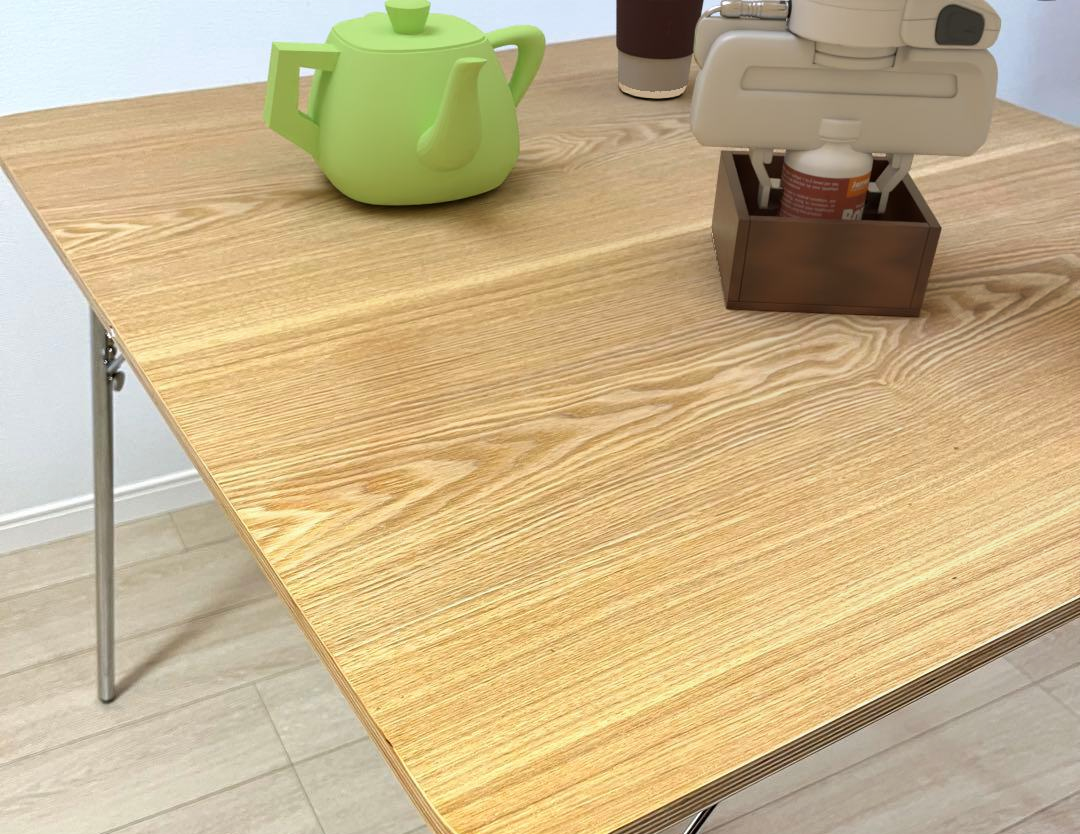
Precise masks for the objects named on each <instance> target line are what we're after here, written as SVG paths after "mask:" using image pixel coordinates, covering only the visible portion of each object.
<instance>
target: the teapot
mask: <svg viewBox="0 0 1080 834" xmlns="http://www.w3.org/2000/svg"><path fill="white" fill-rule="evenodd" d="M384 7H385V11H386V12H383V11H373V12H370V13H367V14H365V15H364V16H362V17H357V18H350V19H346V20H343V21H340V22H337V23H336V24H334V25H333V26H332V27H331V28H330V30H329V33H328V35H327V38H326V39H325V42H324V43H314V42H285V41H272V43H271V49H270V57H269V65H268V73H267V80H266V89H265V96H264V104H263V112H262V120H263V121H264V123H265V124H266V126H267V127H268V128H269V129H270V130H272V131H273V132H275V133H276V134H278V135H279V136H281V137H283V138H284V139H285V140H286V141H289V142H290V143H292V144H293V145H295V146H297V147H298V148H300V149H301V150H303V151H305V152H306V153H307V154H309V155H311V156H312V158H313V160H314V161H315V163H316V165H317V166H318V167H319V169H320V170H321V171H322V173H323V174H324V176H325V177H326V178H327V180H328V181H330V183H331V184H332V185H333V186H334V187H335V188H336V189H337V190H338V191H339V192H341V194H343V195H345V196H346V197H348V198H350V199H352V200H354V201H357V202H360V203H364V204H370V205H378V206H380V205H381V206H413V205H426V204H438V203H446V202H450V201H457V200H461V199H466V198H471V197H473V196H477V195H480V194H483V193H487V192H489V191H491V190H495V189H496V188H498V187H500V186H501V185H502V184H503V183H504V182H505V180H506V179H507V178H508V176H509V175H510V173H511V172H512V170H513V169H514V167H515V165H516V163H517V162H518V159H519V157H520V152H521V140H520V139H521V137H520V129H519V128H520V127H519V121H518V116H517V110H516V109H517V108H518V105H519V104H520V103H521V101H522V100H523V98H524V96H525V94H526V93H527V91H528V90H529V88H530V86H531V85H532V83H533V82H534V79H535V78H536V76H537V74H538V73H539V70H540V68H541V65H542V62H543V59H544V56H545V51H546V44H547V43H546V41H547V40H546V36H545V33H544V32H543V31H542V29H541V28H539V27H537V26H535V25H533V24H532V25H531V24H518V25H517V24H516V25H511V26H506V27H503V28H499V29H495V30H492V31H490V32H486V33H485V32H484V31H482V29H481V28H479V27H477V26H476V25H475V24H473V23H472V22H470V21H468V20H466V19H464V18H462V17H459V16H456V15H452V14H448V13H436V12H430V11H431V1H429V0H385V1H384ZM506 46H516V47H517V58H516V62H515V65H514V68H513V70H512V74H511V77H510V79H509V82H508V80H507V77H506V75H505V72H504V70H503V68H502V66H501V63H500V61H499V58H498V55H497V54H496V52H495V49H498V48H502V47H506ZM301 68H302V69H303V68H304V69H312V70H314V73H313V77H312V80H311V83H310V89H309V94H308V98H307V99H308V100H307V107H306V113H305V112H303V111H302V110H300V109H299V96H300V95H299V93H300V71H301Z"/></svg>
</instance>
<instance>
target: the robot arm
mask: <svg viewBox="0 0 1080 834" xmlns="http://www.w3.org/2000/svg"><path fill="white" fill-rule="evenodd" d="M1038 1H1040V2H1041V1H1042V2H1052V1H1053V2H1055V0H1038ZM716 13H719V15H714V14H716ZM1001 28H1002V18H1001V16H1000V15H999V14H998V12H997V11H996V10H995V8H994V7H993V6H992V5H991V4H990V3H988V1H986V0H721V1H720V4H718V5H714V6H711V7H710V8H708V9H707V10H705V11H704V12H703V13H702V14H701V17H700V18H699V20H698V22H697V25H696V28H695V37H694V47H693V54H692V55H693V59H694V61H695V63H696V65H697V66H698V70H697V74H696V77H695V78H696V79H695V83H694V87H693V92H692V97H691V103H690V110H689V129H690V132H691V134H692V135H693V137H694V139H695V140H696V141H697V142H698V144H699V145H700V146H702V147H708V148H710V147H711V148H732V149H733V148H735V149H736V148H737V149H748V151H749V156H750V160H751V163H752V165H753V167H754V170H755V172H756V175H757V177H758V179H759V182H760V184H759V191H758V206H759V209H780V207H781V201H780V199H781V197H782V195H783V186H782V184H781V179H774V178H769V176H768V173H767V171H766V168H765V166H764V164H763V162H764V163H765V164H770V163H771V162H772V156H773V152H774V150H785V151H786V150H816V149H820V148H822V147H823V146H824V145H825V144H826V141H823V140H820V138H822V137H821V136H819V135H818V133H819V130H820V125H821V121H822V119H843V120H860V121H861V122H862V124H861V130H860V137H858V138H856V140H857V141H855V142H850V143H849V144H850V147H851V149H852V150H854V151H857V152H862V153H872V154H885V155H884V157H886V158H887V160H888V162H889V165H888V166H887V167H886V169H885V170H884V171H883V173H882V174H881V175H880V176H879V178H878V179H877V180H876V182H869V185H868V190H867V195H866V200H865V204H864V209H863V213H872V214H884V212H885V209H886V204H887V200H888V195H889V192H891V191H892V190H893V189H894V188H895V187H896V185H897V184H898V183H899V182H900V181H901V180H902V179H903V178H904V176H905V175H906V174H907V173H909V172H910V171H911V169H912V165H913V160H914V158H915V155H916V156H940V157H942V156H943V157H945V156H946V157H961V158H964V157H972V156H973V155H974V154H976V152H977V151H978V150H980V149H981V148H982V147H983V146H984V145H985V144H986V142H987V140H988V137H989V133H990V129H991V125H992V120H993V117H994V110H995V105H996V98H997V89H998V83H999V82H998V81H999V69H998V64H997V61H996V58H995V56H994V55H993V54H992V53H991V51H990V50H988V49H989V48H991V47H992V46H994V45H995V44H996V42H997V40H998V39H999V35H1000V33H1001Z"/></svg>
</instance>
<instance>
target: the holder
mask: <svg viewBox="0 0 1080 834" xmlns="http://www.w3.org/2000/svg"><path fill="white" fill-rule="evenodd" d="M784 157H785V152H780V151H779V152H778V151H773V156H772V162H771V163H770V164H765V163H764V162H763V164H764V166H765V168H766V171H767V173H768V176H769V178H774V179H781V175H782V168H783V162H784ZM718 164H719V165H718V171H717V180H716V185H715V186H716V187H715V188H716V189H715V193H714V201H713V202H714V204H713V212H712V220H711V227H710V229H711V228H712V233H713V239H714V245H715V250H716V255H717V260H716V262H717V261H718V265H717V267H718V266H719V269H718V273H719V272H720V274H719V278H720V277H721V279H720V283H722V284H721V288H722V294H723V299H724V304H725V308H726V309H727V310H743V311H744V310H748V311H769V312H792V313H793V312H794V313H795V312H797V313H816V314H817V313H820V314H822V313H823V314H840V315H841V314H843V315H844V314H845V315H865V316H866V315H868V316H869V315H870V316H891V317H892V316H893V317H894V316H895V317H916V318H919V317H920V314H921V310H922V307H923V303H924V299H925V295H926V291H927V287H928V283H929V280H930V276H931V272H932V268H933V264H934V260H935V256H936V253H937V248H938V245H939V241H940V237H941V232H942V229H943V227H942V226H941V224H940V222H939V220H938V219H937V218H936V216H935V214H934V213H933V210H932V209H931V207H930V205H929V204H928V203H927V201H926V200H925V199H926V198H924V196H923V194H922V193H921V191H920V189H919V188H918V186H917V185H916V183H915V181H914V180H913V178H912V176H911V175H910V173H909V172H908V173H907V174H906V175H905V176H904V178H903V179H902V180H901V181H900V182H899V183H898V184H897V185H896V187H895V188H894V189H893V190H892V191H891V192H889V195H888V200H887V204H886V209H885V212H884V214H872V213H863V214H862V219H861V220H846V219H821V218H796V217H775V213H776V209H759V206H758V191H759V184H760V182H759V179H758V177H757V175H756V172H755V170H754V167H753V165H752V163H751V160H750V156H749V150H728V149H726V150H725V149H722V150H721V151H720V157H719V163H718ZM888 165H889V162H888V160H887V158H886V157H885V156H883V155H882V156H881V155H880V156H876V155H873V164H872V170H871V176H870V180H869V182H876V180H877V179H878V178H879V176H880V175H881V174H882V173H883V171H884V170H885V169H886V167H887V166H888ZM714 245H713V246H714ZM715 250H714V251H715ZM716 255H715V256H716Z"/></svg>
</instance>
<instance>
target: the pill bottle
mask: <svg viewBox="0 0 1080 834" xmlns="http://www.w3.org/2000/svg"><path fill="white" fill-rule="evenodd" d="M861 124H862V122H861V121H860V120H843V119H822V121H821V125H820V130H819V133H818V135H819V136H821V137H822V138H820V140H823V141H826V144H825V145H824V146H823V147H822V148H820V149H816V150H785V152H784V153H785V157H784V162H783V168H782V175H781V184H782V186H783V195H782V197H781V199H780V201H781V207H780V209H776V213H775V217H796V218H821V219H846V220H861V219H862V214H863V209H864V204H865V200H866V195H867V190H868V185H869V180H870V176H871V170H872V164H873V156H874V155H873V153H862V152H857V151H854V150H852V149H851V147H850V144H849V143H850V142H855V141H857V140H856V138H858V137H860V130H861Z"/></svg>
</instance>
